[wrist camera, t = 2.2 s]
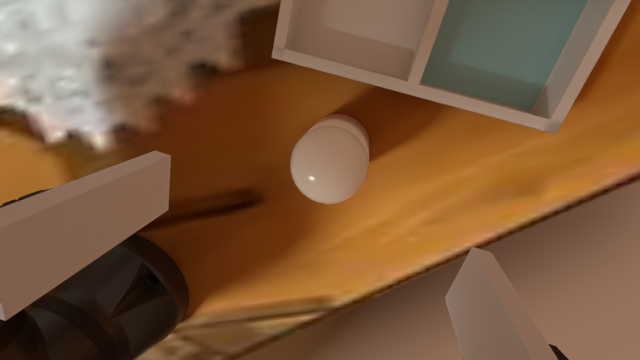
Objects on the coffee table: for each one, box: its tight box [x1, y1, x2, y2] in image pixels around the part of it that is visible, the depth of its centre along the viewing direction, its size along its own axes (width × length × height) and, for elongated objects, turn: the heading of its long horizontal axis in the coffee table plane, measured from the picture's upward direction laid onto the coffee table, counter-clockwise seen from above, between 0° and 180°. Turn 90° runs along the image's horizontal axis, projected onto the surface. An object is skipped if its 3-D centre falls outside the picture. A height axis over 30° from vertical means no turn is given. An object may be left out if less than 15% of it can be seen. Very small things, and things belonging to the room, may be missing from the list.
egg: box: [290, 114, 369, 204], centre depth 23 cm, size 6×6×9 cm
